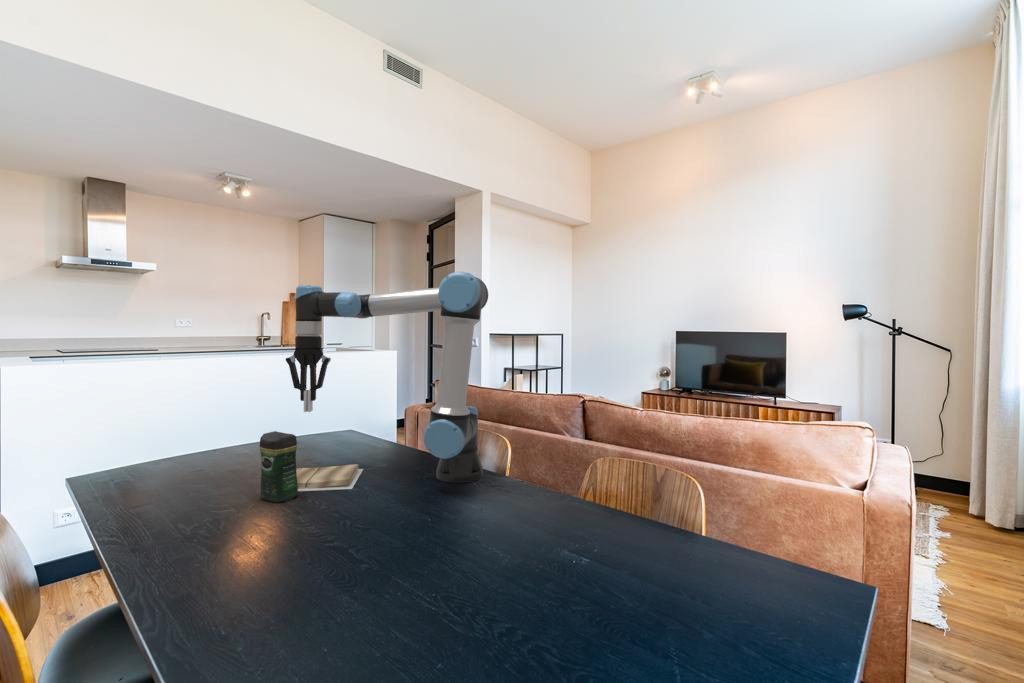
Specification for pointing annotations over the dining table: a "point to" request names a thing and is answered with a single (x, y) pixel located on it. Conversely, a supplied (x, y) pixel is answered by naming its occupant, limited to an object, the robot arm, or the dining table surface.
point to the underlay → (338, 485)
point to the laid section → (304, 476)
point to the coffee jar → (278, 466)
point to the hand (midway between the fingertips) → (308, 411)
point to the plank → (333, 476)
